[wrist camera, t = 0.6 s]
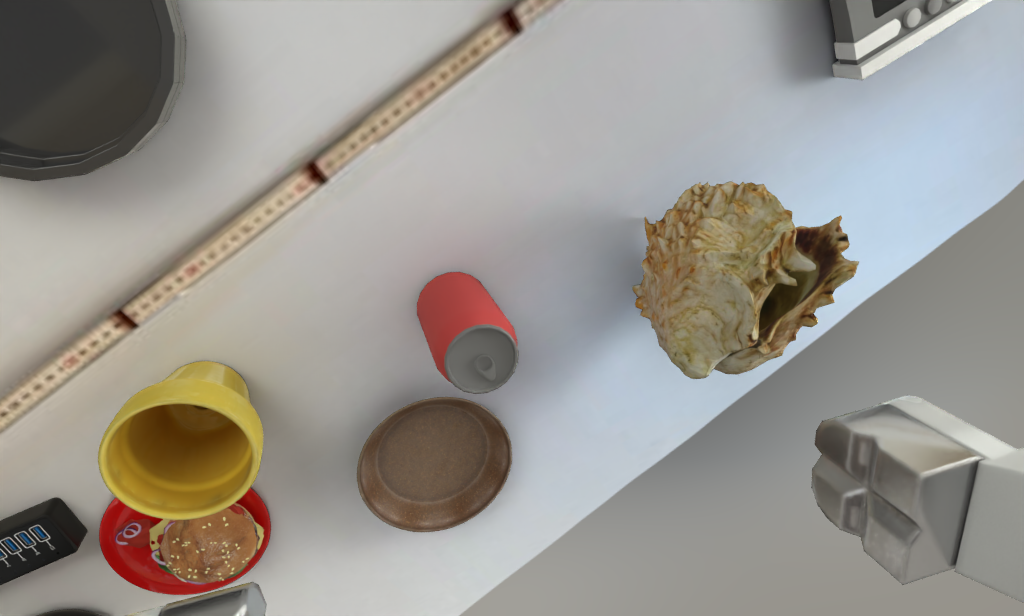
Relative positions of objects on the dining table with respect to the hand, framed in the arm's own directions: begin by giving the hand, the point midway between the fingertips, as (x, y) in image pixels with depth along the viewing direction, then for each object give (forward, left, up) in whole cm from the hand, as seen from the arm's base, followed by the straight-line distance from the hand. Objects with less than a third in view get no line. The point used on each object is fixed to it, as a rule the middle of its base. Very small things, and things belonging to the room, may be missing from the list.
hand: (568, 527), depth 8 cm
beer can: (+14, +5, -45) cm, 47 cm away
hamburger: (+31, -22, -45) cm, 59 cm away
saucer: (+29, +1, -45) cm, 53 cm away
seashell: (+13, +28, -45) cm, 54 cm away
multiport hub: (+28, -37, -45) cm, 65 cm away
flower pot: (+18, -17, -45) cm, 51 cm away
